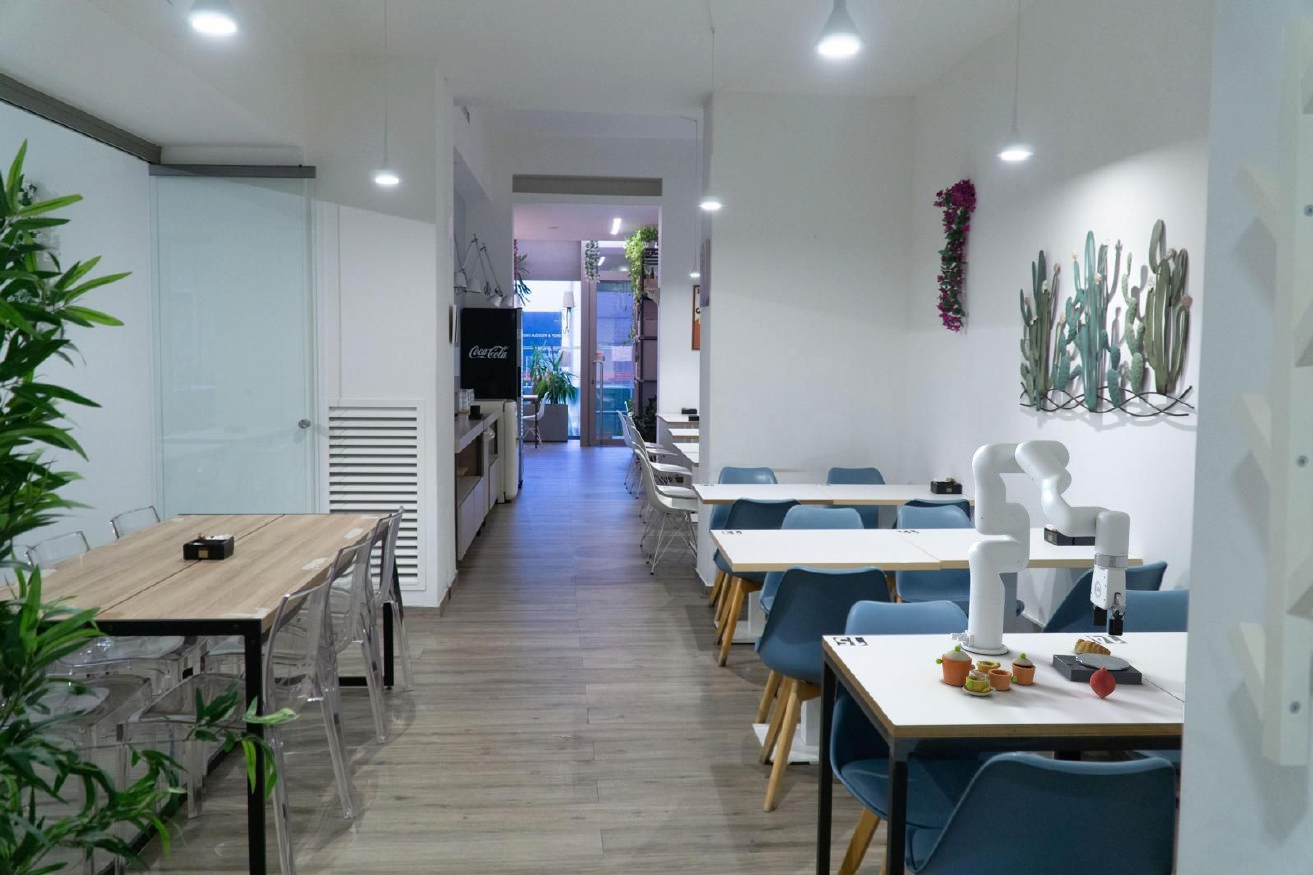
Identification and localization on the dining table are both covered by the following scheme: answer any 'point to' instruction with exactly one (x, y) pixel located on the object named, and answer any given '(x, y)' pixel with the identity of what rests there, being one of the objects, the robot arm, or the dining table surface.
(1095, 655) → the scale pan
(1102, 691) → the onion
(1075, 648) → the pastry
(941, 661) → the toy tea set
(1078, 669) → the scale
